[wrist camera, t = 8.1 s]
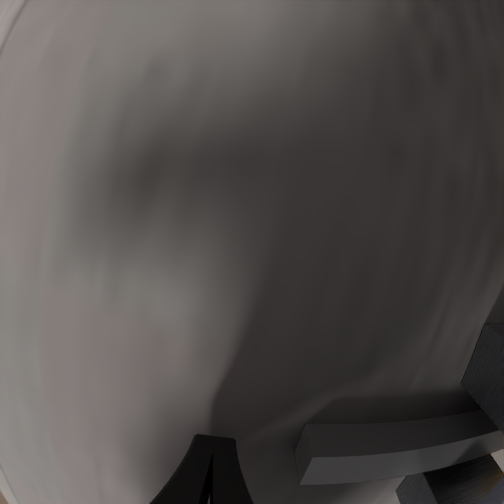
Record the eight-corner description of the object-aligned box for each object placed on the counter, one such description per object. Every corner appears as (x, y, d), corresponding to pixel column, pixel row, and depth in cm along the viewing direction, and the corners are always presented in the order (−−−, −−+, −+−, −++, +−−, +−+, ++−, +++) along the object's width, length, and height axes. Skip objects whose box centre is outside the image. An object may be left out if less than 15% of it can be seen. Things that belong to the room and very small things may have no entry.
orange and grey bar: (289, 464, 11) (297, 540, 7) (311, 405, 10) (332, 493, 6) (531, 423, 11) (560, 455, 7) (557, 379, 11) (590, 408, 7)
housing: (460, 473, 12) (495, 536, 6) (395, 491, 12) (425, 570, 6) (543, 321, 9) (620, 374, 4) (484, 324, 9) (582, 402, 4)
